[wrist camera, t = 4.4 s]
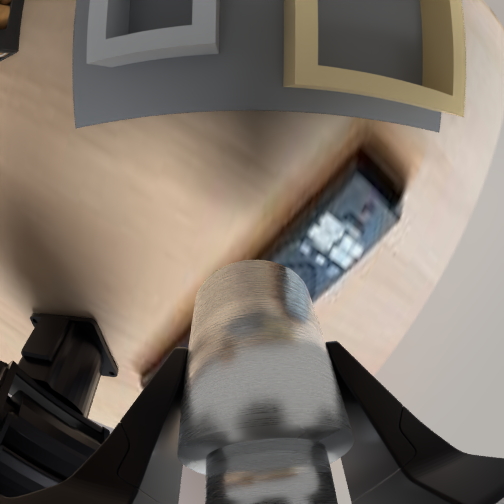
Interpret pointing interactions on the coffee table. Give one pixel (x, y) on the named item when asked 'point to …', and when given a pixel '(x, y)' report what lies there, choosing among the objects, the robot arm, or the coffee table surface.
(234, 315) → the steel fitting
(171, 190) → the coffee table surface
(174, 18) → the board
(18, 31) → the ammunition clip
